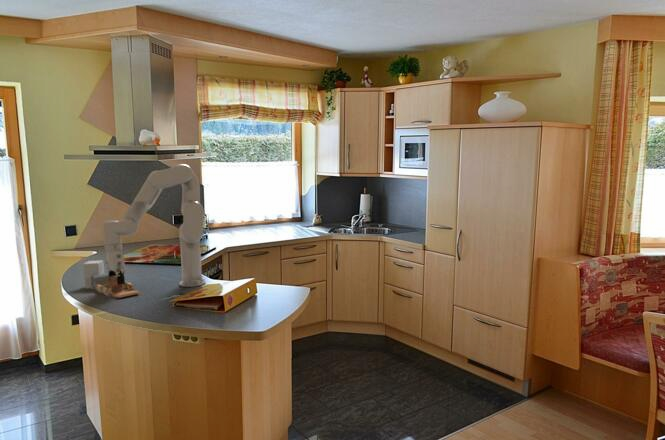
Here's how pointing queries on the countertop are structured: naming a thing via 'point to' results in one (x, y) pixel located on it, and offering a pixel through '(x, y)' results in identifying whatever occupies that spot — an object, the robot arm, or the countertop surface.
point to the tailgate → (125, 294)
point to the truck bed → (107, 284)
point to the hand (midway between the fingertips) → (117, 282)
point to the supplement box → (92, 271)
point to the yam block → (115, 284)
